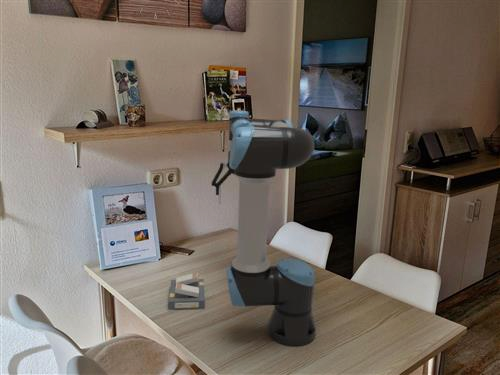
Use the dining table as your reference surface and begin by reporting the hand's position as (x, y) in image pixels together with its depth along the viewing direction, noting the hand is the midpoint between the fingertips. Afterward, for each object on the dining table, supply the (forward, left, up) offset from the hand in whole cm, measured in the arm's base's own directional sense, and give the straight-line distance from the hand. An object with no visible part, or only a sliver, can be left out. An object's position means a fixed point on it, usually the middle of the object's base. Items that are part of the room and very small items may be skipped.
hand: (236, 203), depth 177 cm
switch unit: (-25, +19, -28) cm, 42 cm away
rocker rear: (-21, +19, -22) cm, 36 cm away
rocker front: (-29, +19, -22) cm, 42 cm away
